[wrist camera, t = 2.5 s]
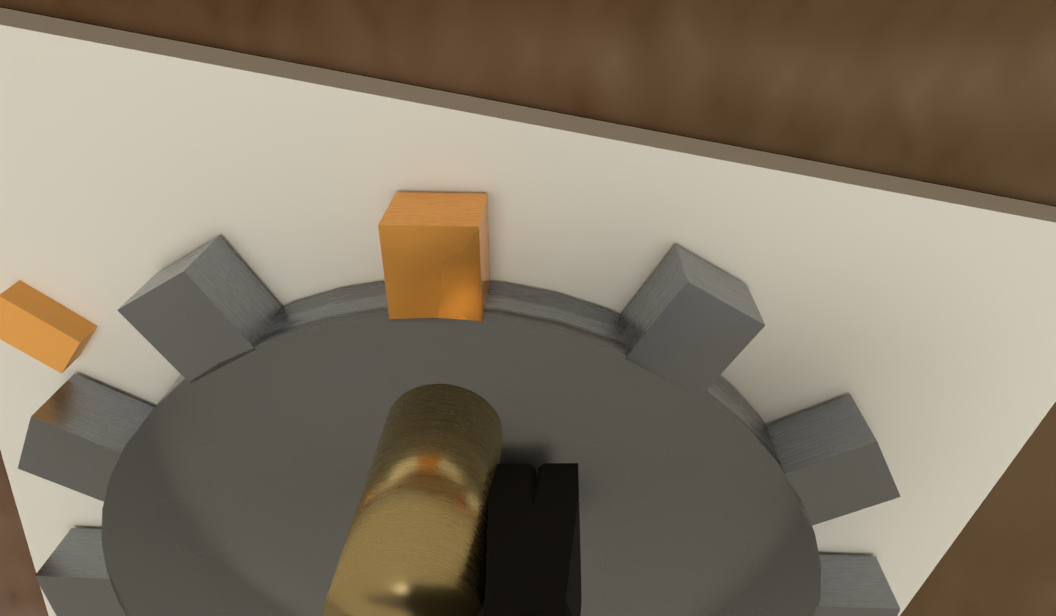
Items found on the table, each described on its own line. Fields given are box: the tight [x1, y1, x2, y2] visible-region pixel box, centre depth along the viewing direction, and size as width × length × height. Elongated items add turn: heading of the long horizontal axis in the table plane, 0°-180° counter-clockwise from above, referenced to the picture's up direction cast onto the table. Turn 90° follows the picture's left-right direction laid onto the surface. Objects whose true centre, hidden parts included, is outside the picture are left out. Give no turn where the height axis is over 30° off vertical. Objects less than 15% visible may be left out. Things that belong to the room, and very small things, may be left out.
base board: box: [0, 8, 1056, 616], centre depth 17 cm, size 22×22×2 cm
